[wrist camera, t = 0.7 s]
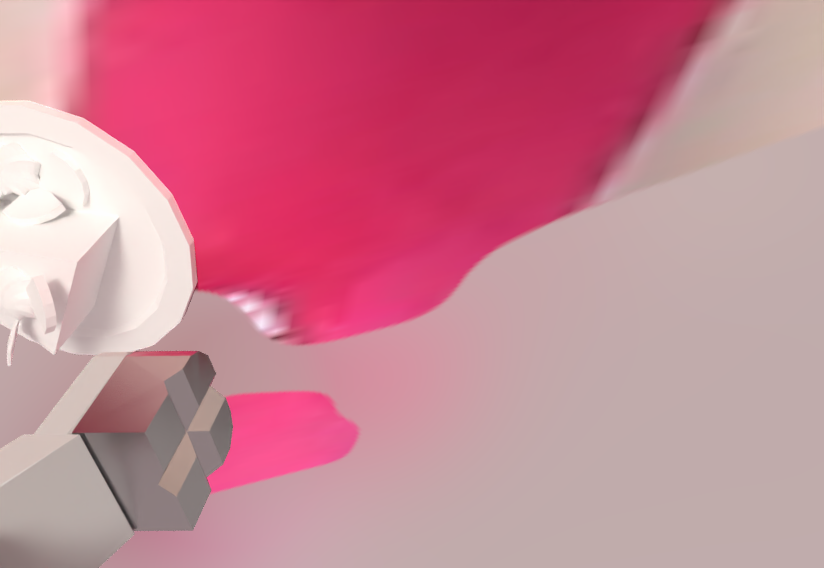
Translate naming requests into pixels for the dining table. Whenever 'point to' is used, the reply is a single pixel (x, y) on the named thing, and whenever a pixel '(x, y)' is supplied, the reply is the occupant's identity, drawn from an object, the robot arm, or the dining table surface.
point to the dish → (86, 238)
